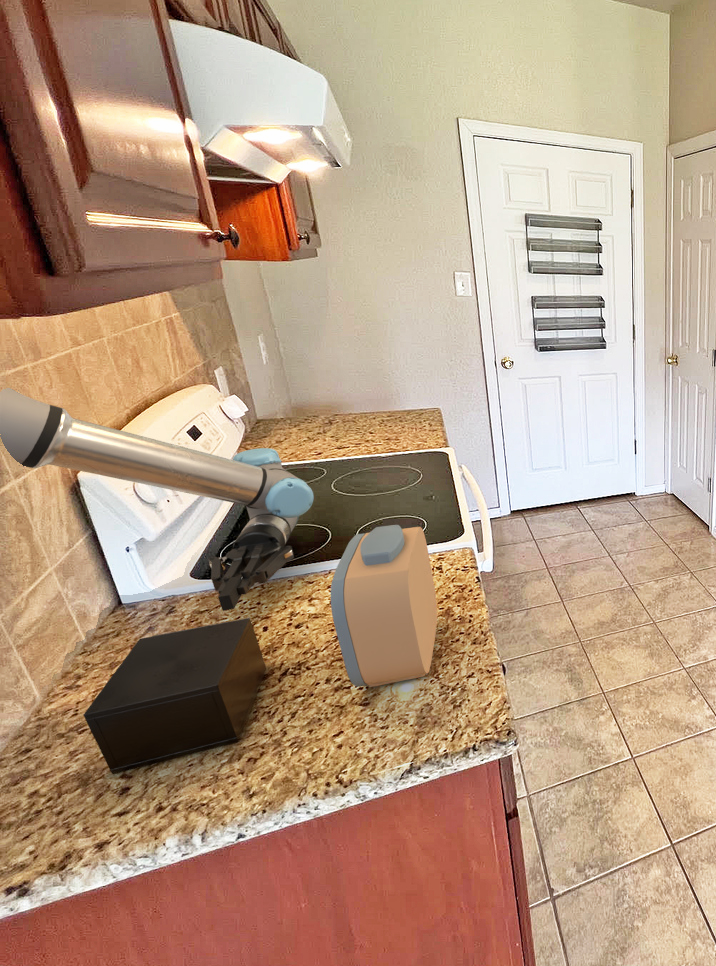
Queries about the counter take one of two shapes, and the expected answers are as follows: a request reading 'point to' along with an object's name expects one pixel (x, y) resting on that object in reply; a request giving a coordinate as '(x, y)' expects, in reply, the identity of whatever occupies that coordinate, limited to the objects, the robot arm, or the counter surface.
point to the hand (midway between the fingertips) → (226, 603)
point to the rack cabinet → (178, 695)
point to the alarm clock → (385, 606)
